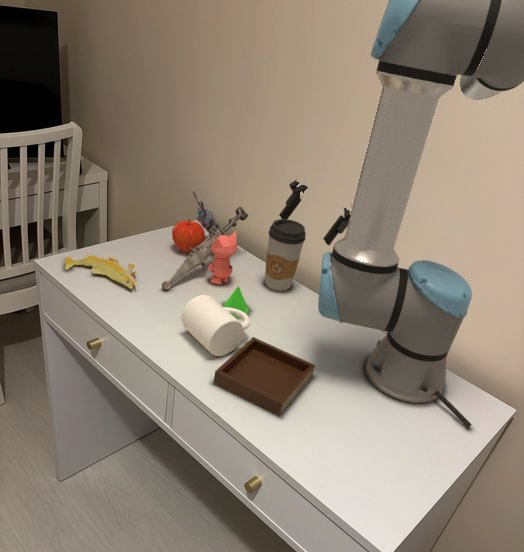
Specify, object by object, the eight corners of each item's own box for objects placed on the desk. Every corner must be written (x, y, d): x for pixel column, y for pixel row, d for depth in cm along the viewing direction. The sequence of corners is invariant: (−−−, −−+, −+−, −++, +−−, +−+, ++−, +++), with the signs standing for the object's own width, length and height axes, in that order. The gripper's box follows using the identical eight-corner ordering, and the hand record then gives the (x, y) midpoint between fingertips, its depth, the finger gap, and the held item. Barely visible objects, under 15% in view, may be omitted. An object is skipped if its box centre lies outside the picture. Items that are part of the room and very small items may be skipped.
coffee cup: (254, 286, 127) (264, 227, 118) (267, 272, 134) (277, 214, 125) (287, 298, 126) (300, 238, 117) (299, 282, 132) (312, 225, 123)
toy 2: (220, 263, 141) (191, 216, 144) (233, 255, 142) (204, 209, 144) (215, 241, 127) (183, 190, 130) (230, 233, 127) (198, 182, 130)
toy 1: (91, 249, 129) (56, 269, 124) (88, 237, 127) (53, 257, 121) (152, 282, 121) (118, 305, 116) (150, 270, 119) (116, 293, 113)
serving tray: (312, 376, 104) (315, 365, 102) (279, 416, 94) (282, 404, 92) (251, 348, 108) (253, 336, 107) (213, 383, 98) (214, 371, 97)
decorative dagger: (170, 302, 122) (250, 224, 136) (175, 301, 120) (256, 223, 134) (150, 276, 120) (234, 200, 133) (155, 275, 118) (239, 197, 131)
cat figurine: (222, 270, 131) (228, 223, 124) (241, 283, 127) (248, 236, 120) (199, 277, 127) (203, 230, 119) (218, 291, 123) (224, 243, 116)
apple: (173, 256, 133) (175, 226, 128) (169, 241, 139) (170, 211, 134) (206, 256, 135) (209, 227, 130) (200, 241, 141) (203, 212, 136)
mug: (207, 361, 103) (211, 326, 98) (179, 333, 109) (181, 299, 104) (257, 344, 110) (263, 310, 105) (228, 318, 115) (232, 286, 111)
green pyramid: (250, 318, 117) (254, 294, 113) (222, 316, 116) (225, 292, 112) (247, 302, 121) (251, 279, 118) (220, 301, 120) (223, 277, 117)
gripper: (405, 185, 123) (350, 260, 123) (321, 149, 136) (270, 217, 135) (400, 165, 117) (341, 244, 116) (312, 129, 129) (259, 200, 129)
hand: (303, 230), depth 126 cm, fingers open, 13 cm apart
